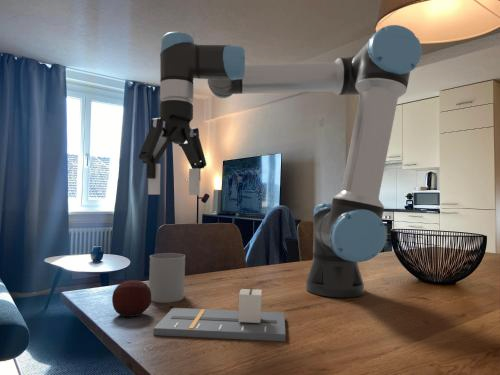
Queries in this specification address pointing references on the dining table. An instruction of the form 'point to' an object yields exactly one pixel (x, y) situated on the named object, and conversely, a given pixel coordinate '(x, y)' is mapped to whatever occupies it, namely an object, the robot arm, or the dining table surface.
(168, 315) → the console
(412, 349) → the dining table surface
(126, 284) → the potato
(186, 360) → the dining table surface
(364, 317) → the dining table surface
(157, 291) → the cup
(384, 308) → the dining table surface
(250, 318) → the fader
